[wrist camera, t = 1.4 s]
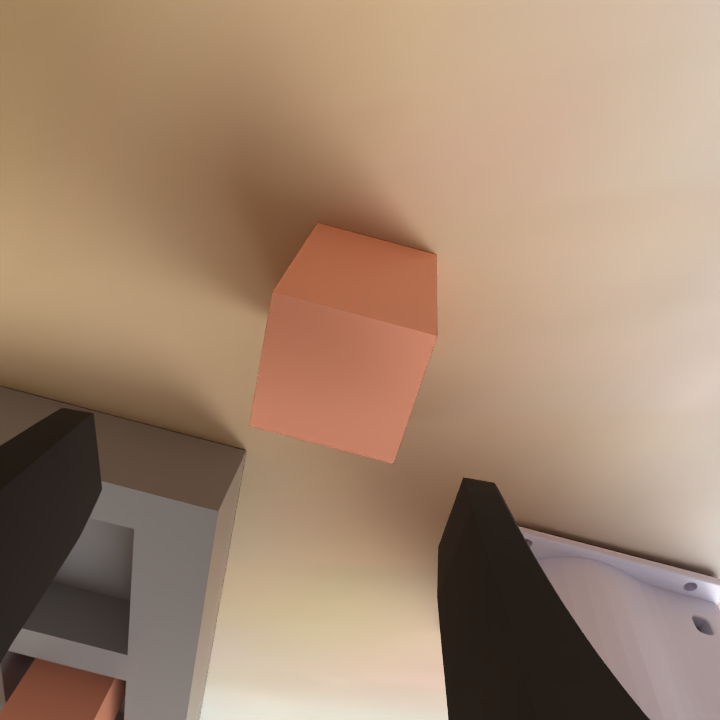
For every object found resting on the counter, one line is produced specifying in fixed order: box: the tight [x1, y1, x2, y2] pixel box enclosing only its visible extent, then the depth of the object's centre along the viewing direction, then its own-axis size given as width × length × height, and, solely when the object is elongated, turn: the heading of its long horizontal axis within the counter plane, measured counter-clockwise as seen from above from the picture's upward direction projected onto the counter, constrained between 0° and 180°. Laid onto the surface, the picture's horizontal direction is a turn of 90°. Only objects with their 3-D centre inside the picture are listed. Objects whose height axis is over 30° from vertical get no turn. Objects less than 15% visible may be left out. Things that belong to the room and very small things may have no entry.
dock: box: [0, 386, 246, 720], centre depth 26 cm, size 12×22×7 cm, turn 167°
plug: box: [249, 223, 437, 464], centre depth 17 cm, size 4×4×6 cm
